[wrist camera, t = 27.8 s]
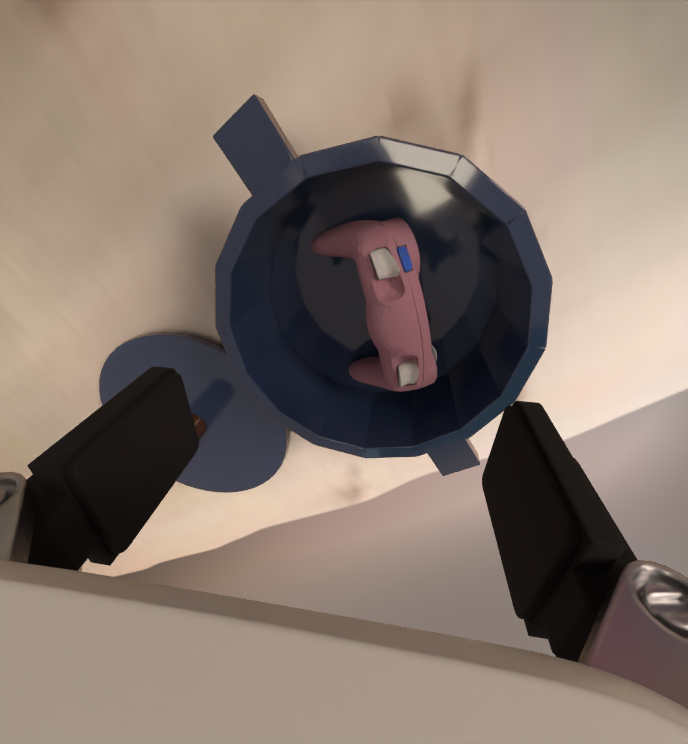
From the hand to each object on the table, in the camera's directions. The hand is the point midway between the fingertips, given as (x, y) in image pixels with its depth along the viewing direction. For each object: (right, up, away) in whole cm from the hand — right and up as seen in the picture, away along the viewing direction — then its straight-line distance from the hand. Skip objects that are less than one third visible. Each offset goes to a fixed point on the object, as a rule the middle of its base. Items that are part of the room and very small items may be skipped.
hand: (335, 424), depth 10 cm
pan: (+3, +7, +12) cm, 14 cm away
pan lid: (-13, -3, +19) cm, 23 cm away
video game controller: (+2, +6, +12) cm, 13 cm away
